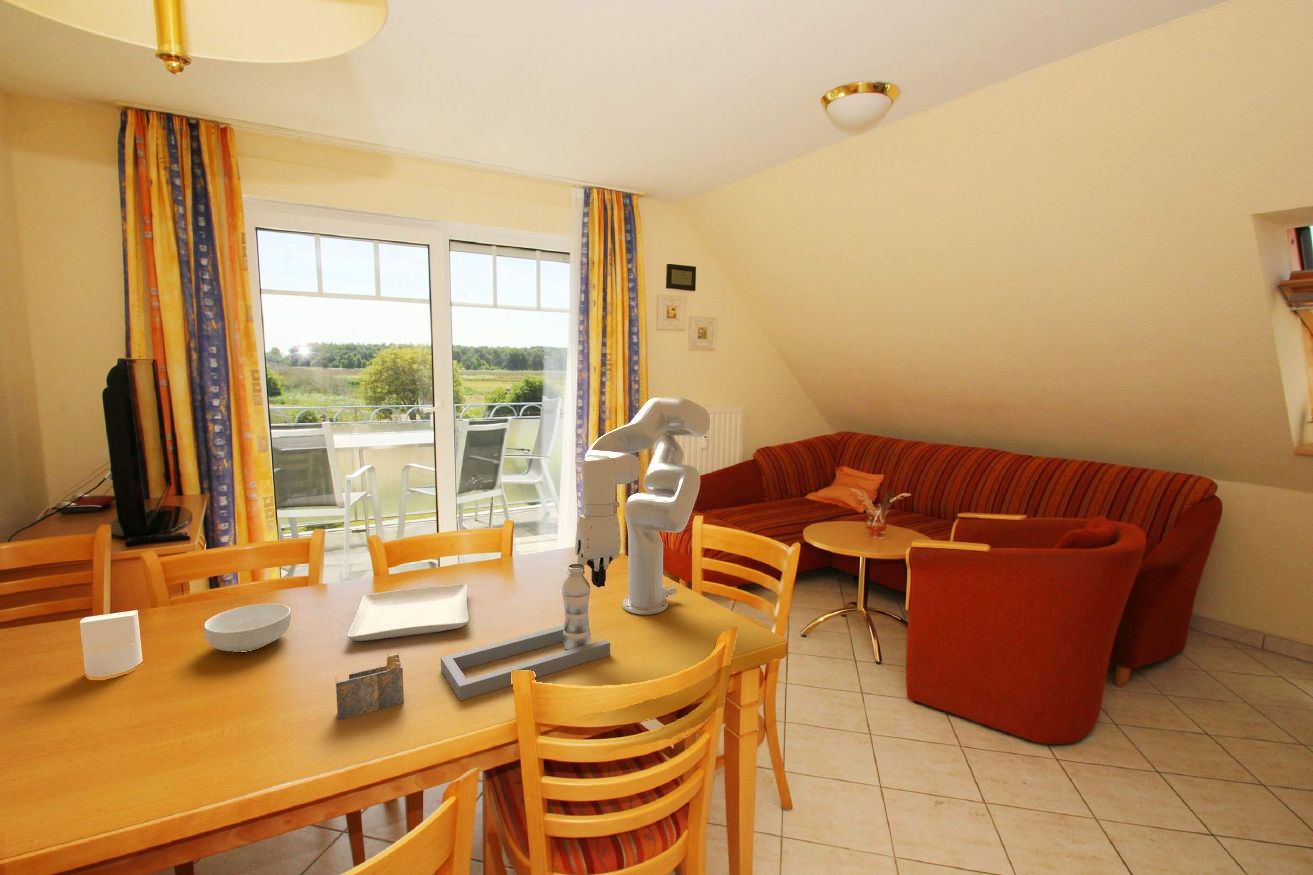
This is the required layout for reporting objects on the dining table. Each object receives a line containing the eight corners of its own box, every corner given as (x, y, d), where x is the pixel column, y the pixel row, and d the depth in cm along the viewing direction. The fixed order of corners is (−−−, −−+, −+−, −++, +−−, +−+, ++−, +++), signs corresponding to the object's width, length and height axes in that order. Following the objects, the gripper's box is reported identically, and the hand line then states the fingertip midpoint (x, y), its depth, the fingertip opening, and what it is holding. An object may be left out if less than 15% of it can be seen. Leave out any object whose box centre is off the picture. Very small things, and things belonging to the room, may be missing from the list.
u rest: (582, 632, 147) (582, 620, 146) (610, 655, 135) (610, 642, 135) (441, 670, 128) (440, 657, 127) (459, 700, 116) (459, 686, 116)
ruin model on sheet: (401, 697, 118) (399, 651, 117) (404, 704, 116) (402, 657, 114) (337, 713, 112) (334, 665, 111) (338, 722, 110) (335, 672, 109)
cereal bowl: (302, 645, 139) (300, 616, 138) (215, 671, 126) (212, 639, 126) (280, 623, 150) (278, 596, 149) (199, 645, 138) (196, 616, 137)
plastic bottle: (586, 656, 134) (585, 571, 132) (558, 653, 136) (557, 569, 133) (594, 643, 141) (594, 562, 138) (567, 640, 142) (567, 560, 140)
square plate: (467, 594, 171) (467, 581, 170) (469, 635, 145) (468, 620, 145) (364, 605, 162) (363, 591, 162) (346, 651, 137) (345, 635, 136)
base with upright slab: (78, 685, 120) (72, 628, 119) (94, 665, 128) (89, 612, 127) (135, 674, 125) (130, 620, 123) (148, 656, 132) (143, 604, 131)
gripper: (618, 502, 145) (617, 574, 147) (562, 509, 136) (562, 586, 138) (634, 508, 139) (633, 584, 141) (577, 516, 130) (577, 596, 132)
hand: (598, 585), depth 140 cm, fingers closed
